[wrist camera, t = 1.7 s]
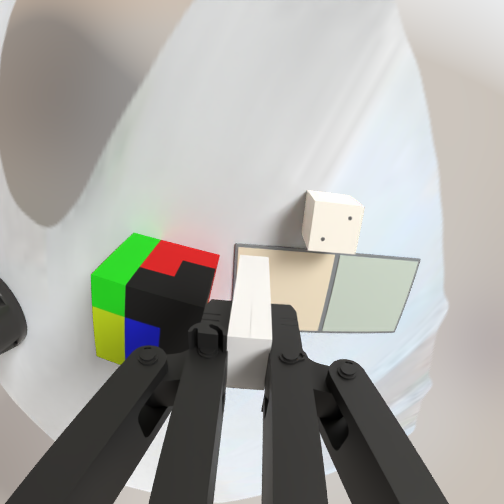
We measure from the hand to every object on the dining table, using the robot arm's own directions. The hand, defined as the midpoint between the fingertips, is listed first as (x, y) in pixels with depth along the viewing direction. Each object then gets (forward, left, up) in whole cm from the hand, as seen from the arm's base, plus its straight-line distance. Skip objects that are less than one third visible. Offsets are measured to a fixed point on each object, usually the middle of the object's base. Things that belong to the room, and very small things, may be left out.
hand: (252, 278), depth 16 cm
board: (+9, -10, -15) cm, 20 cm away
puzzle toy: (-9, -10, -15) cm, 20 cm away
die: (+7, 0, -15) cm, 16 cm away
